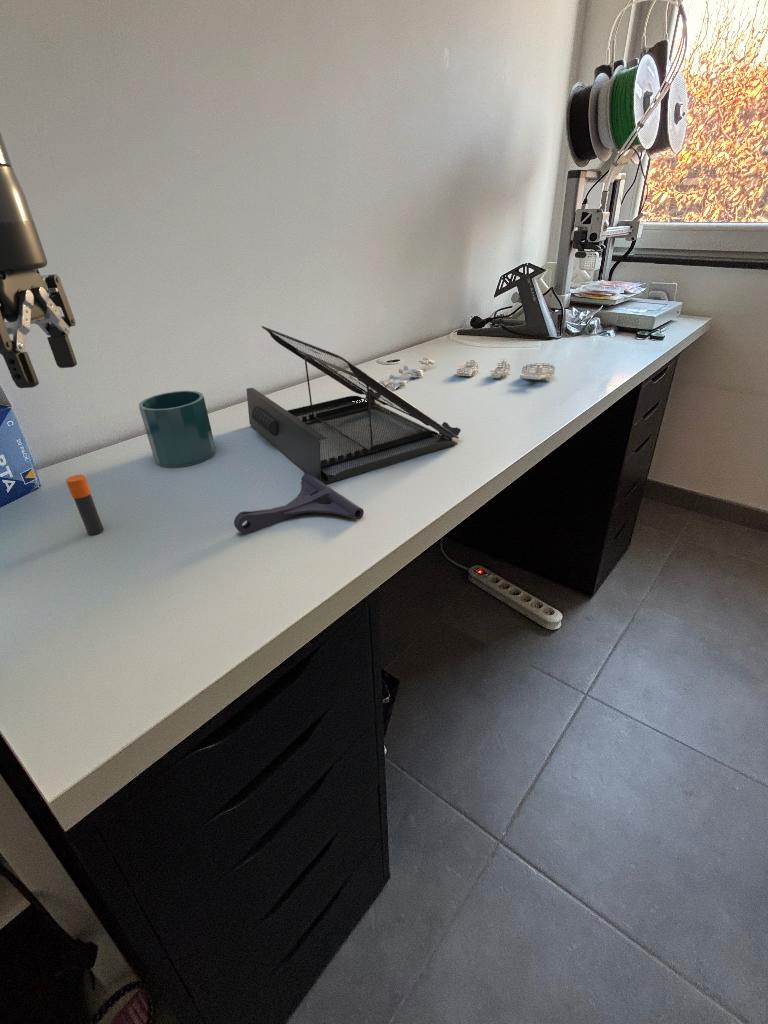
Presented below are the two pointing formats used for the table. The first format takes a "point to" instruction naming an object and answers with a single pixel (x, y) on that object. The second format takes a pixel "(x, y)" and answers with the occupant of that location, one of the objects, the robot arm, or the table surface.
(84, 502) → the marker
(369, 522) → the table surface
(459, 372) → the drone parts
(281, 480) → the table surface
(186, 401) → the pen pot
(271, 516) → the bracket
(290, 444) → the laptop stand
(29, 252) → the robot arm
